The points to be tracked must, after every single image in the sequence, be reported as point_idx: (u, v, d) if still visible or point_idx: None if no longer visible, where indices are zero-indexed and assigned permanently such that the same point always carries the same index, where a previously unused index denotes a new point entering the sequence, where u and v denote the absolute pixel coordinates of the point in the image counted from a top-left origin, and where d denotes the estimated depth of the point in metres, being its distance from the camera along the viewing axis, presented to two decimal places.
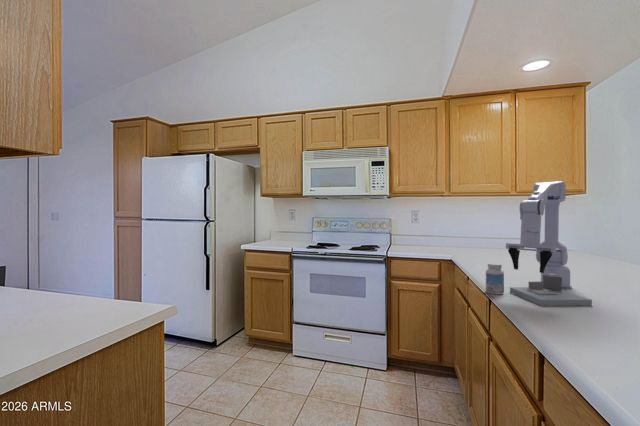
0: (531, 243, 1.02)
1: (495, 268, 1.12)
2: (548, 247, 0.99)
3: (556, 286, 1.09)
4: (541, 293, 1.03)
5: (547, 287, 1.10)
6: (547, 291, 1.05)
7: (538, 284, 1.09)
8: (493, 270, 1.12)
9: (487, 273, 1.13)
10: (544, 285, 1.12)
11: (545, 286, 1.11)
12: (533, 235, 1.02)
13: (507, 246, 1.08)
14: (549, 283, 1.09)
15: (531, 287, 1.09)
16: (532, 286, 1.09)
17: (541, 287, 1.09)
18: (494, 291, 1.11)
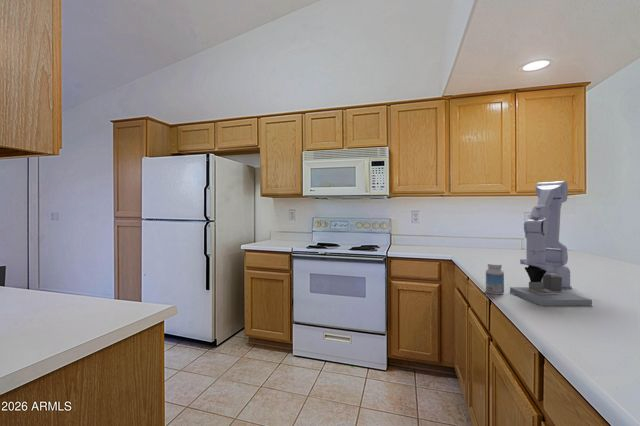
0: (530, 261, 1.10)
1: (495, 268, 1.12)
2: (543, 266, 1.05)
3: (556, 286, 1.09)
4: (541, 293, 1.03)
5: (547, 287, 1.10)
6: (547, 291, 1.05)
7: (538, 284, 1.09)
8: (493, 270, 1.12)
9: (487, 273, 1.13)
10: (544, 285, 1.12)
11: (545, 286, 1.11)
12: (532, 254, 1.09)
13: (521, 262, 1.18)
14: (549, 283, 1.09)
15: (531, 287, 1.09)
16: (533, 286, 1.09)
17: (541, 287, 1.09)
18: (494, 291, 1.11)
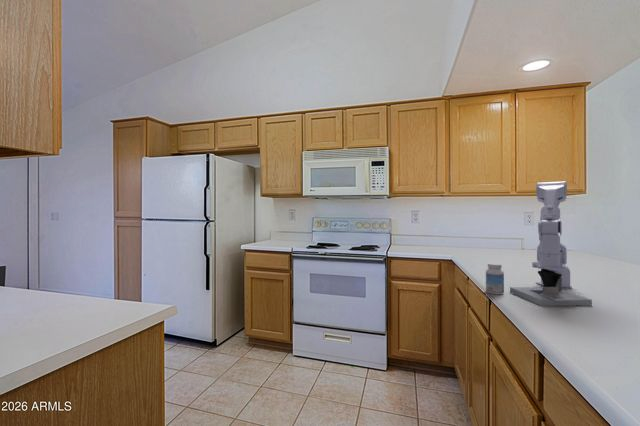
0: (544, 265, 1.03)
1: (495, 268, 1.12)
2: (559, 270, 0.98)
3: None
4: (557, 299, 0.96)
5: None
6: (563, 297, 0.98)
7: (553, 289, 1.02)
8: (493, 270, 1.12)
9: (487, 273, 1.13)
10: None
11: None
12: (546, 257, 1.02)
13: (533, 265, 1.11)
14: None
15: (545, 292, 1.02)
16: (547, 291, 1.02)
17: (556, 292, 1.02)
18: (494, 291, 1.11)
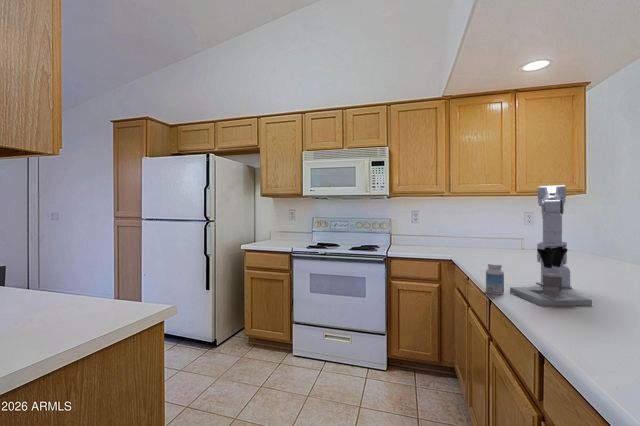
0: None
1: (495, 268, 1.12)
2: None
3: None
4: (557, 299, 0.96)
5: None
6: (563, 297, 0.98)
7: (553, 289, 1.02)
8: (493, 270, 1.12)
9: (487, 273, 1.13)
10: (544, 285, 1.12)
11: None
12: None
13: None
14: (549, 283, 1.09)
15: (545, 292, 1.02)
16: (547, 291, 1.02)
17: (556, 292, 1.02)
18: (494, 291, 1.11)
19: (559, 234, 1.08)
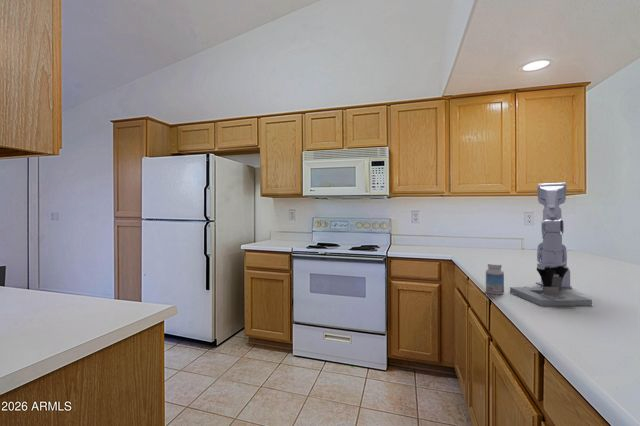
0: (542, 260, 1.12)
1: (495, 268, 1.12)
2: None
3: None
4: (557, 299, 0.96)
5: None
6: (563, 297, 0.98)
7: (553, 289, 1.02)
8: (493, 270, 1.12)
9: (487, 273, 1.13)
10: None
11: None
12: (542, 253, 1.12)
13: None
14: None
15: (545, 292, 1.02)
16: (547, 291, 1.02)
17: (556, 292, 1.02)
18: (494, 291, 1.11)
19: (559, 254, 1.08)
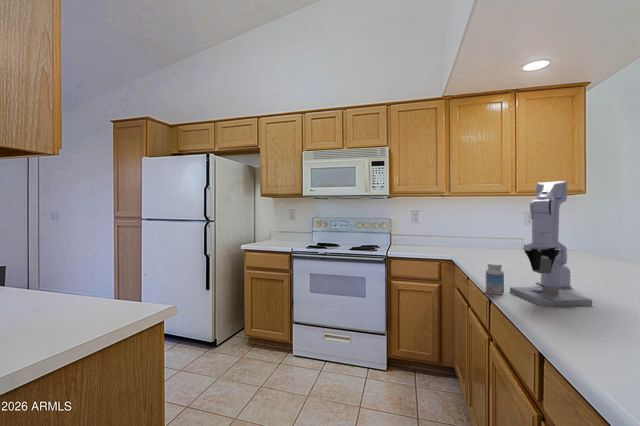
0: None
1: (495, 268, 1.12)
2: None
3: (545, 268, 1.05)
4: (557, 299, 0.96)
5: None
6: (563, 297, 0.98)
7: (553, 289, 1.02)
8: (493, 270, 1.12)
9: (487, 273, 1.13)
10: None
11: None
12: (532, 234, 1.08)
13: None
14: None
15: (545, 292, 1.02)
16: (547, 291, 1.02)
17: (556, 292, 1.02)
18: (494, 291, 1.11)
19: (548, 235, 1.04)
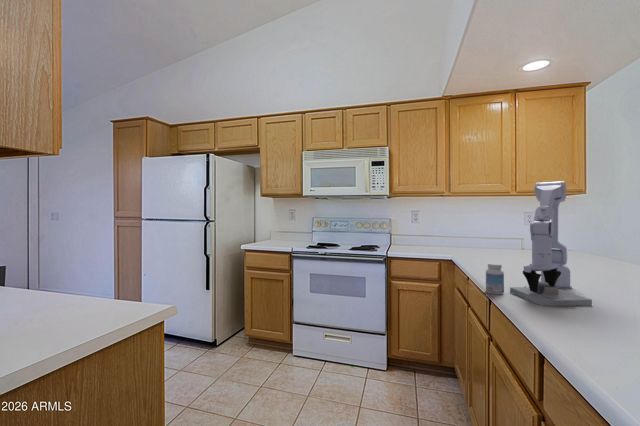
0: None
1: (495, 268, 1.12)
2: None
3: None
4: (557, 299, 0.96)
5: None
6: (563, 297, 0.98)
7: (553, 289, 1.02)
8: (493, 270, 1.12)
9: (487, 273, 1.13)
10: None
11: None
12: (532, 255, 1.08)
13: None
14: (538, 291, 1.06)
15: (545, 292, 1.02)
16: (547, 291, 1.02)
17: (556, 292, 1.02)
18: (494, 291, 1.11)
19: (548, 257, 1.04)
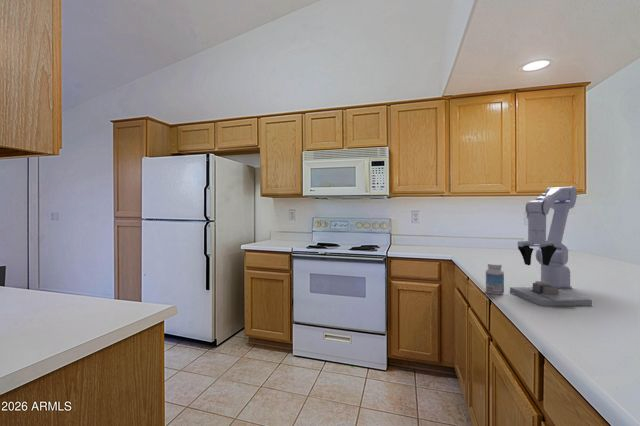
0: None
1: (495, 268, 1.12)
2: None
3: None
4: (557, 299, 0.96)
5: None
6: (563, 297, 0.98)
7: (553, 289, 1.02)
8: (493, 270, 1.12)
9: (487, 273, 1.13)
10: None
11: None
12: None
13: None
14: (538, 291, 1.06)
15: (545, 292, 1.02)
16: (547, 291, 1.02)
17: (556, 292, 1.02)
18: (494, 291, 1.11)
19: (541, 233, 1.12)
